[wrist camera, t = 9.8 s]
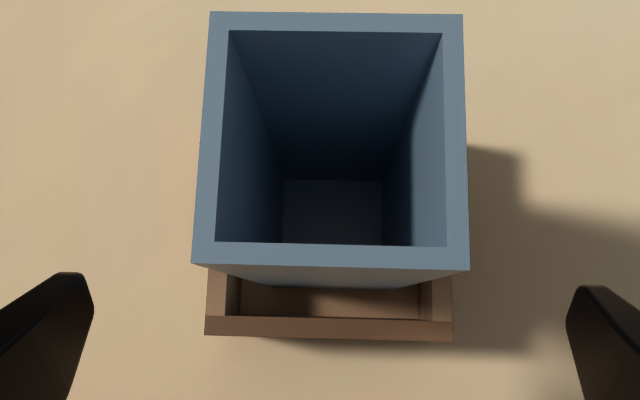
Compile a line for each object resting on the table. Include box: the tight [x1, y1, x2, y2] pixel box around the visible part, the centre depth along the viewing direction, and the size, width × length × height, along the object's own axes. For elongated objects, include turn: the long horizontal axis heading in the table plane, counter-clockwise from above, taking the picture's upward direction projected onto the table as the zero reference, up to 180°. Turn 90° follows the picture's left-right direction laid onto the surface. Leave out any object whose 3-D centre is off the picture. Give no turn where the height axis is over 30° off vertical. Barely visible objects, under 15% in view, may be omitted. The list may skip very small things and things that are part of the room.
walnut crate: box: [204, 268, 453, 342], centre depth 21 cm, size 9×9×4 cm
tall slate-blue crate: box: [191, 11, 470, 290], centre depth 16 cm, size 5×5×13 cm
